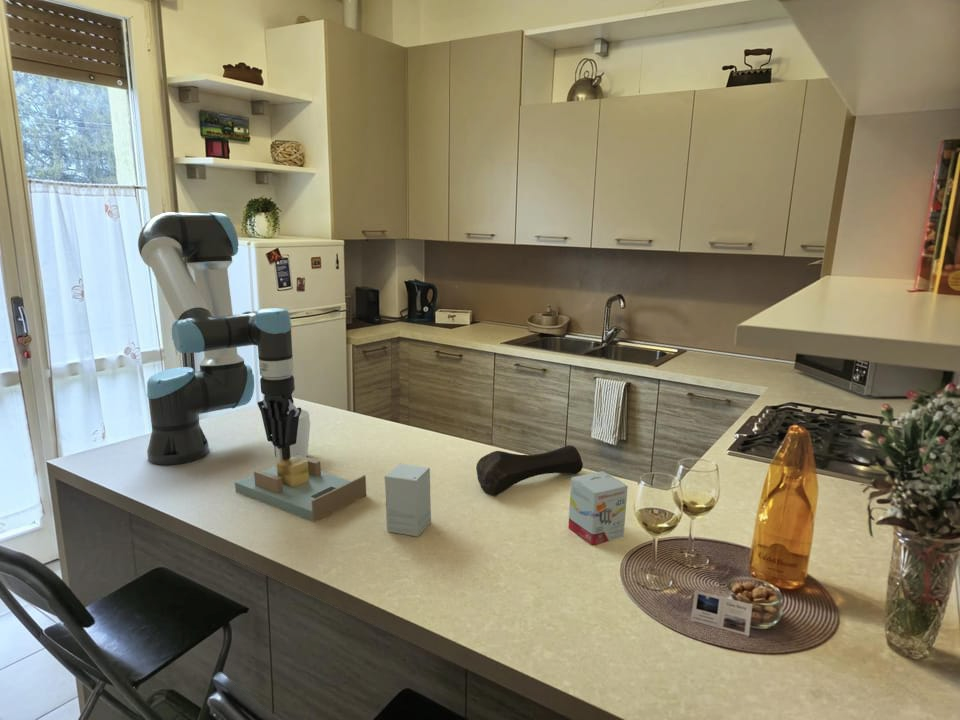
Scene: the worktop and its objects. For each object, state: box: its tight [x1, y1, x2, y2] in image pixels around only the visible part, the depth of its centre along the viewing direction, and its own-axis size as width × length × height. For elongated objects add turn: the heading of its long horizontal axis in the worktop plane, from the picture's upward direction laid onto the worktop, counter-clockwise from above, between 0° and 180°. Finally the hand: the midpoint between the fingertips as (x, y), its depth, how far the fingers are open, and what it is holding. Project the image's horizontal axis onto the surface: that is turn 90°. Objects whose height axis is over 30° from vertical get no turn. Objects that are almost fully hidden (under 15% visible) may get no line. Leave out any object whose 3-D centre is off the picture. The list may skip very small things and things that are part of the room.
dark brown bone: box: [475, 445, 584, 497], centre depth 156 cm, size 11×10×28 cm
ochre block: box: [276, 457, 309, 488], centre depth 149 cm, size 5×5×5 cm
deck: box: [234, 455, 367, 523], centre depth 148 cm, size 27×16×6 cm, turn 57°
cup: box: [290, 409, 311, 458], centre depth 170 cm, size 9×9×12 cm
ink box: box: [567, 470, 629, 547], centre depth 130 cm, size 9×9×12 cm
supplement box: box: [384, 463, 432, 538], centre depth 132 cm, size 7×7×13 cm
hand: (283, 471), depth 150 cm, fingers closed
